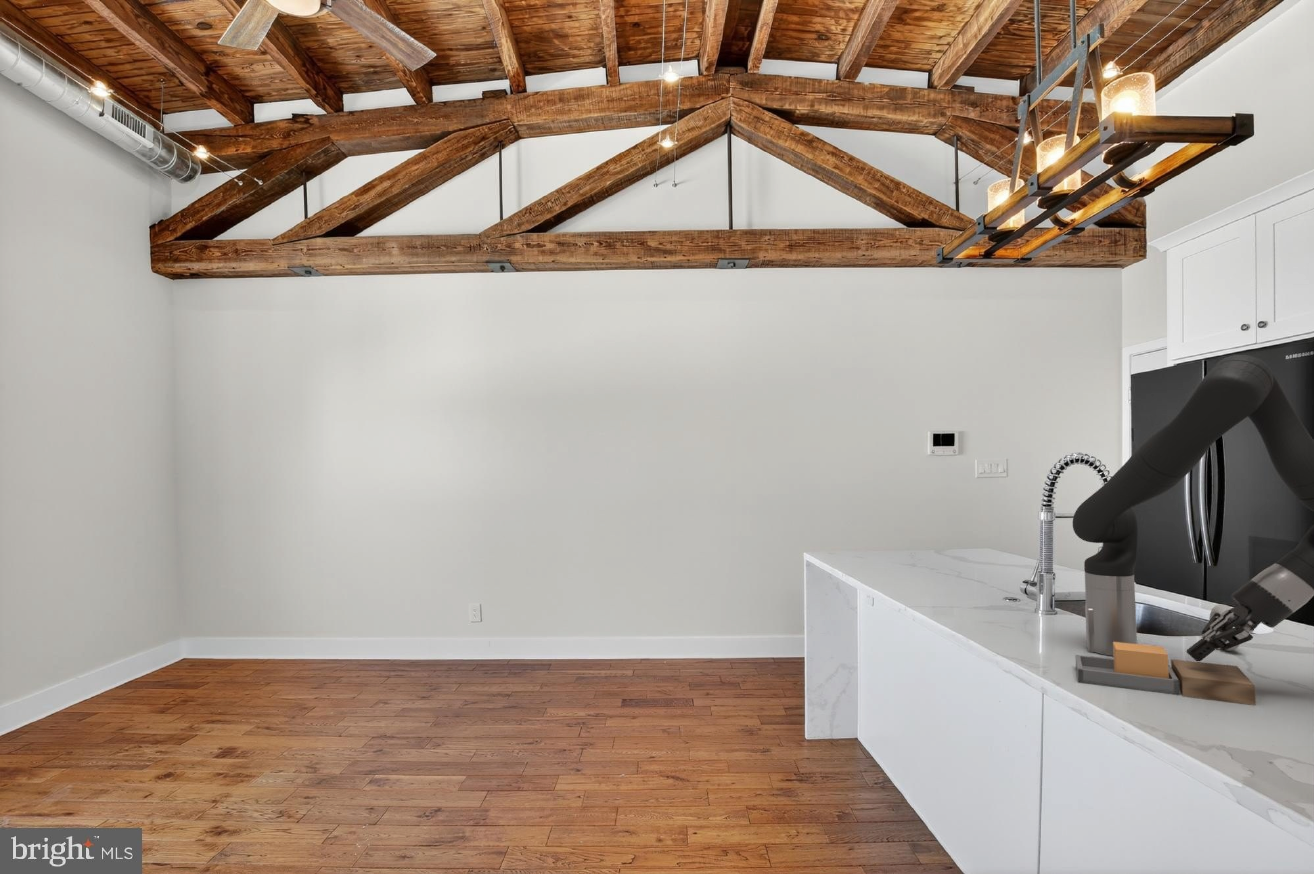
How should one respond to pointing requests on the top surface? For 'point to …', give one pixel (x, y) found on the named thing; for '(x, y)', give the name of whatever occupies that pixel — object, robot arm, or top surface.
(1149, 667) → the orange block
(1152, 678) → the tray
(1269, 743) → the top surface
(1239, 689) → the walnut board
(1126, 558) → the robot arm
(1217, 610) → the donut
